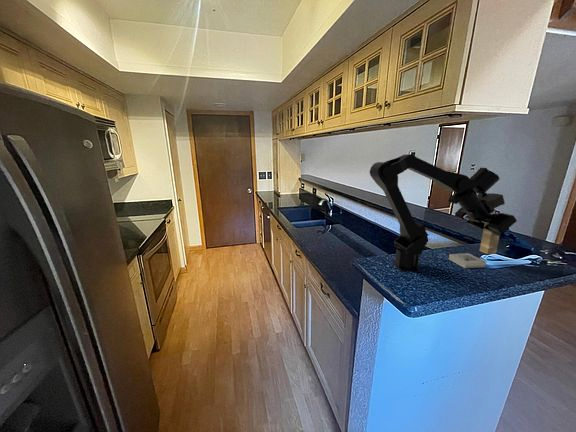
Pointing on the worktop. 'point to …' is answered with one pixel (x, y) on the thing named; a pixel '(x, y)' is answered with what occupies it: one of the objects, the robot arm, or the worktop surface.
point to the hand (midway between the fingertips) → (494, 233)
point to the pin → (489, 241)
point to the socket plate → (471, 263)
